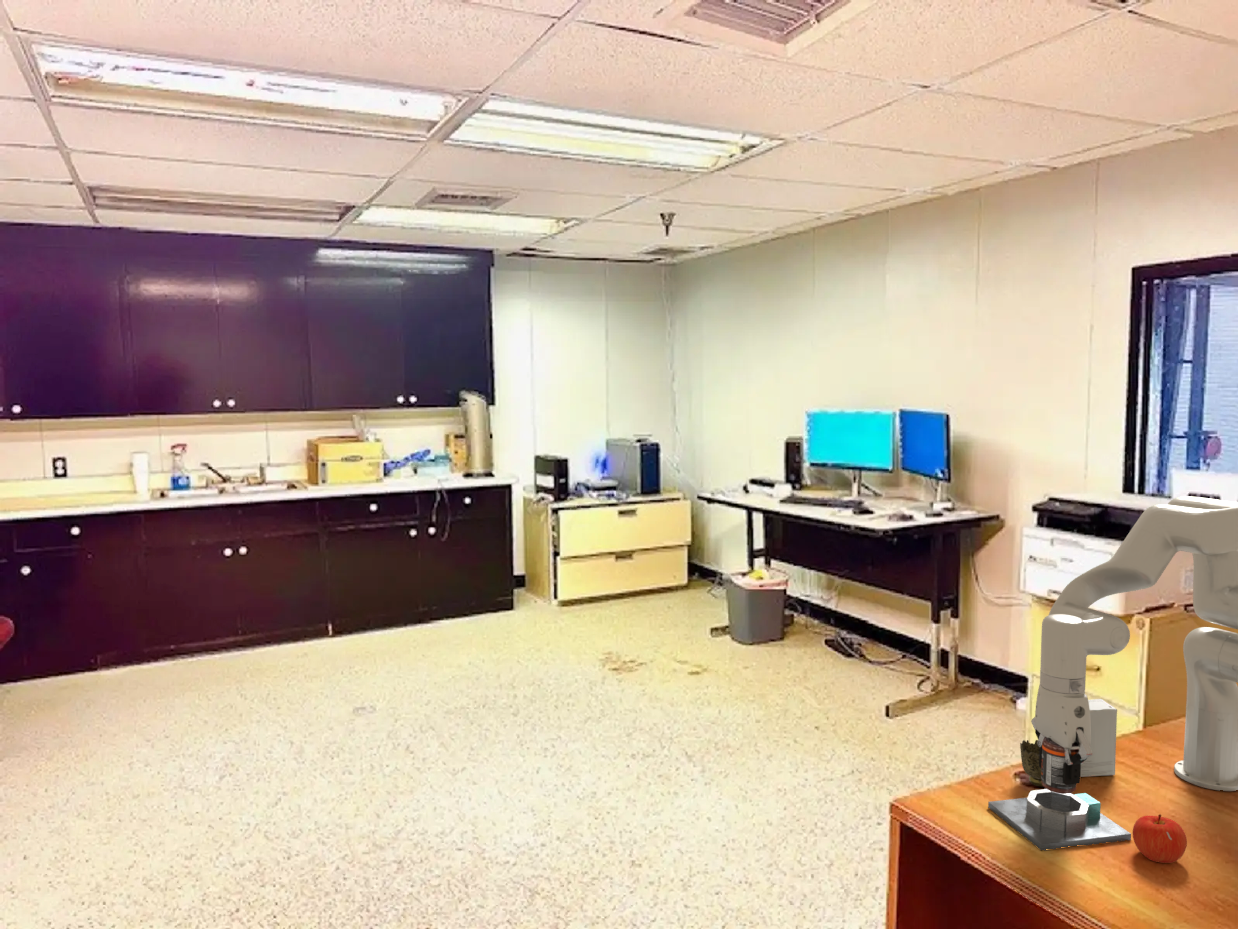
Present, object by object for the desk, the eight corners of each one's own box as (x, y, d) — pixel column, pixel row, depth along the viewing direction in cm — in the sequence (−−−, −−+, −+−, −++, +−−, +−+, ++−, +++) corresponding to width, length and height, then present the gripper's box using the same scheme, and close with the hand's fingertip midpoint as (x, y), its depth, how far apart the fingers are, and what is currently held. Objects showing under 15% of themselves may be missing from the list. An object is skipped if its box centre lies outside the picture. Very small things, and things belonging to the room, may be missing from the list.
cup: (1050, 776, 184) (1051, 739, 183) (1064, 792, 176) (1066, 754, 176) (1013, 775, 184) (1014, 738, 184) (1026, 791, 177) (1027, 753, 176)
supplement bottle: (1044, 777, 168) (1045, 720, 167) (1078, 785, 165) (1080, 727, 163) (1037, 789, 163) (1039, 731, 162) (1073, 798, 160) (1075, 738, 159)
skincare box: (1099, 764, 189) (1102, 697, 187) (1116, 777, 183) (1119, 708, 181) (1061, 765, 189) (1064, 698, 187) (1077, 778, 183) (1079, 709, 181)
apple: (1194, 872, 148) (1196, 827, 147) (1142, 868, 149) (1144, 824, 148) (1173, 847, 156) (1175, 804, 155) (1124, 844, 157) (1126, 801, 156)
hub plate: (1070, 798, 174) (1071, 778, 174) (1130, 840, 158) (1131, 818, 158) (988, 807, 171) (988, 787, 170) (1041, 851, 155) (1042, 828, 155)
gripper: (1114, 697, 154) (1110, 795, 156) (1049, 665, 171) (1046, 754, 173) (1076, 700, 153) (1072, 799, 155) (1015, 668, 170) (1012, 757, 171)
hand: (1059, 774), depth 164 cm, fingers closed on supplement bottle, 6 cm apart
